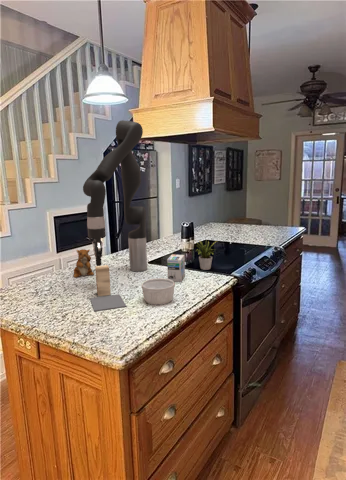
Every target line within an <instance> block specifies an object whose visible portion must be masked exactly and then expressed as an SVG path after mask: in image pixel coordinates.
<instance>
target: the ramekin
mask: <svg viewBox="0 0 346 480" xmlns="http://www.w3.org/2000/svg"><path fill="white" fill-rule="evenodd" d="M175 283H176V282H174V281H172V280H169V279H168V278H164V277H163V278H158V277H157V278H150V279H147V280H144V281H143V282H142V283H141V289H142V294H143V299H144V301H145V302H146V303H148V304H150V305H164V304H168V303H170V302H171V301H172V300H173V299H174V293H175V286H176V285H175Z"/></svg>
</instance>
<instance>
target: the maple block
mask: <svg viewBox="0 0 346 480" xmlns="http://www.w3.org/2000/svg"><path fill="white" fill-rule="evenodd" d="M110 272H111V271H110V267H109V265H108V264H107V265H105V264H104V265H103V264H102V265H101V266H97V265H96V266H95V280H96V295H97V297H101V296H109V295H112V293H111V292H112V291H111V275H110Z"/></svg>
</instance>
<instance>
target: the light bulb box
mask: <svg viewBox="0 0 346 480" xmlns="http://www.w3.org/2000/svg"><path fill="white" fill-rule="evenodd" d="M185 255H186V254H171V255H170V256H169V257H168V258H167V259H166V260H167V265H166V267H167V279H169V280H172V281H174V283H182V282H183V280H184V278H185V277H186V269H185V268H186V266H185V265H186V258H185Z"/></svg>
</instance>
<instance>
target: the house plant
mask: <svg viewBox="0 0 346 480" xmlns="http://www.w3.org/2000/svg"><path fill="white" fill-rule="evenodd" d="M192 241H193V242H195V243H196V244H197V245H196V244H195V246H196V247H197V249H195V251H196V252H197V253H198V254H197V255H199V256H198V261H199V267H200V269H201V270H204V271H207V270H211V268H212V261H213V256H211V254H212V255H214V251H216V250H217V249H216V248H215V249H212V247H213V246H214V245H215V243H216V242H218V240H216V241H214V242H213V243H212V244H211V245H210V241H209V240H208V241H206V242H205V244H203V241H202V240H201V239H199V240H198V242H199V243H198V242H197V241H196V240H194V239H193V240H192Z"/></svg>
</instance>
